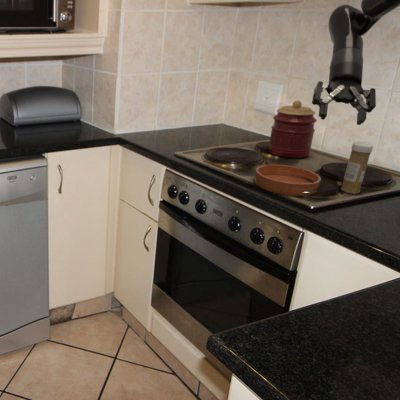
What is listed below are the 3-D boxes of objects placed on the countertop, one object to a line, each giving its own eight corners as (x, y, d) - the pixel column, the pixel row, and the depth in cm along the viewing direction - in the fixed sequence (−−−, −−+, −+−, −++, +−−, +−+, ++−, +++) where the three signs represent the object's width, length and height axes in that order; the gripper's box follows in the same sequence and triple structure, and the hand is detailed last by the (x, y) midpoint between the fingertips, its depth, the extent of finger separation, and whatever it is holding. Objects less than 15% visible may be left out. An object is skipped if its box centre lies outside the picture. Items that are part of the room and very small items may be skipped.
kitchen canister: (318, 154, 160) (328, 101, 154) (295, 160, 154) (305, 105, 147) (281, 146, 170) (290, 96, 164) (259, 151, 164) (267, 100, 158)
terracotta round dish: (329, 188, 131) (332, 177, 130) (296, 201, 123) (299, 188, 122) (275, 172, 144) (277, 161, 143) (242, 182, 136) (244, 170, 134)
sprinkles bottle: (363, 194, 128) (377, 146, 123) (347, 194, 128) (360, 146, 123) (352, 188, 132) (365, 141, 127) (336, 188, 132) (349, 141, 127)
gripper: (322, 56, 127) (317, 108, 121) (382, 64, 123) (380, 117, 118) (312, 74, 133) (306, 123, 128) (368, 81, 130) (365, 132, 125)
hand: (341, 120), depth 123 cm, fingers open, 8 cm apart
